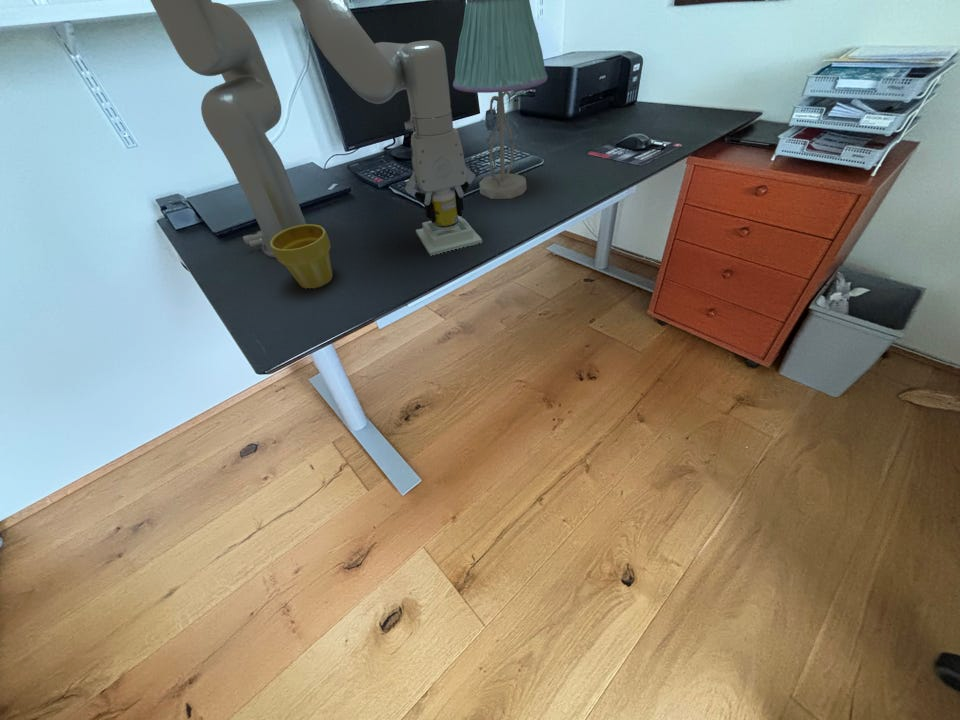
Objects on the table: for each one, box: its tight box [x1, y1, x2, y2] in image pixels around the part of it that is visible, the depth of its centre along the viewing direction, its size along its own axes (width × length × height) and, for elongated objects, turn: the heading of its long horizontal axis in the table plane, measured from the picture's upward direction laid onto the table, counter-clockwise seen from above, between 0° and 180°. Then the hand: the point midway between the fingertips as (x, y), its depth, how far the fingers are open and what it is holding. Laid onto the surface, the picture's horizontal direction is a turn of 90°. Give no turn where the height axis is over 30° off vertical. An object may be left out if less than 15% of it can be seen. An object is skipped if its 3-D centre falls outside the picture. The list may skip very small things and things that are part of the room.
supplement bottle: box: [430, 187, 458, 230], centre depth 86 cm, size 5×5×10 cm
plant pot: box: [270, 223, 334, 290], centre depth 79 cm, size 10×10×10 cm
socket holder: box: [415, 216, 483, 257], centre depth 91 cm, size 12×12×3 cm
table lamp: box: [452, 0, 548, 200], centre depth 96 cm, size 22×22×40 cm
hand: (445, 216), depth 88 cm, fingers closed on supplement bottle, 5 cm apart
